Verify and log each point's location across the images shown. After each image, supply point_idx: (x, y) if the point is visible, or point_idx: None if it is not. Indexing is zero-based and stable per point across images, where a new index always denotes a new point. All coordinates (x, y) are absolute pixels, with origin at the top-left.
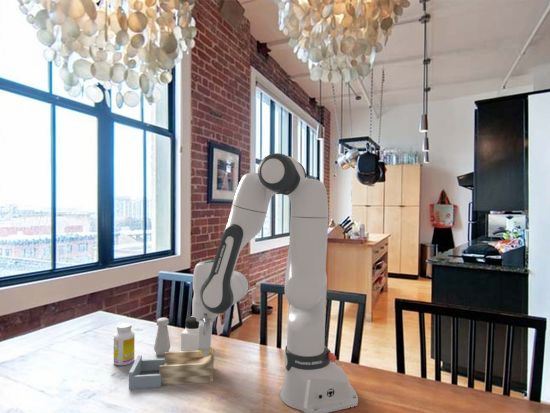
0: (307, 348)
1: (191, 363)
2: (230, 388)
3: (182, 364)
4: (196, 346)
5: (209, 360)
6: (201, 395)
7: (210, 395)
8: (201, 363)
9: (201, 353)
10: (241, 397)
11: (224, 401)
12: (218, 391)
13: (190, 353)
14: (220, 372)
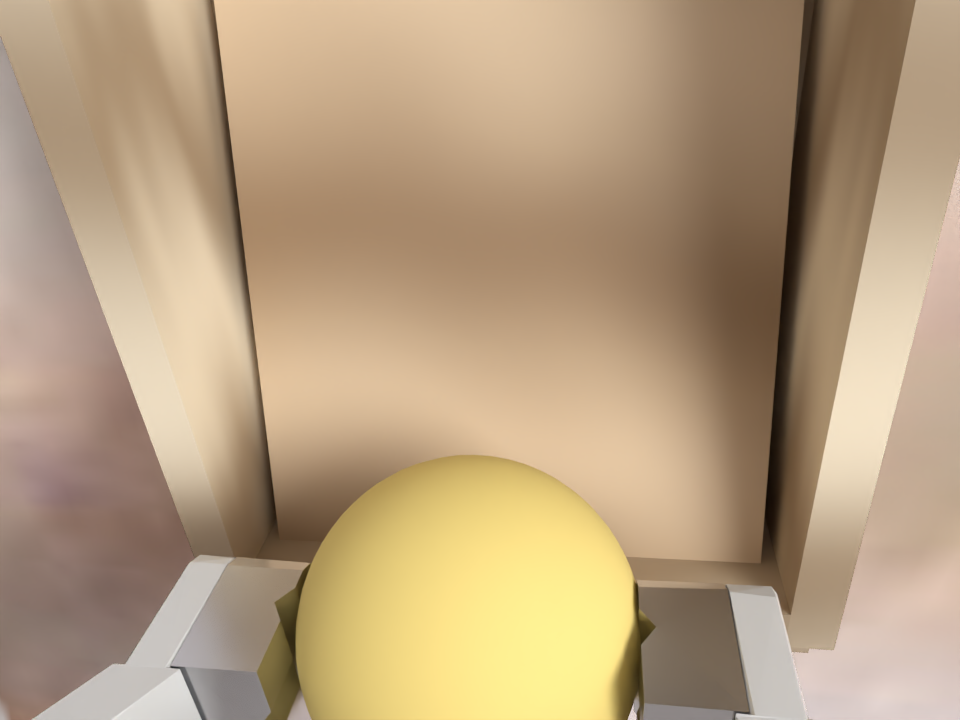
0: None
1: (607, 134)
2: None
3: (34, 10)
4: None
5: None
6: (33, 295)
7: (61, 389)
8: (185, 446)
9: (326, 539)
10: (103, 625)
11: (2, 506)
12: (154, 463)
13: (866, 121)
14: None
